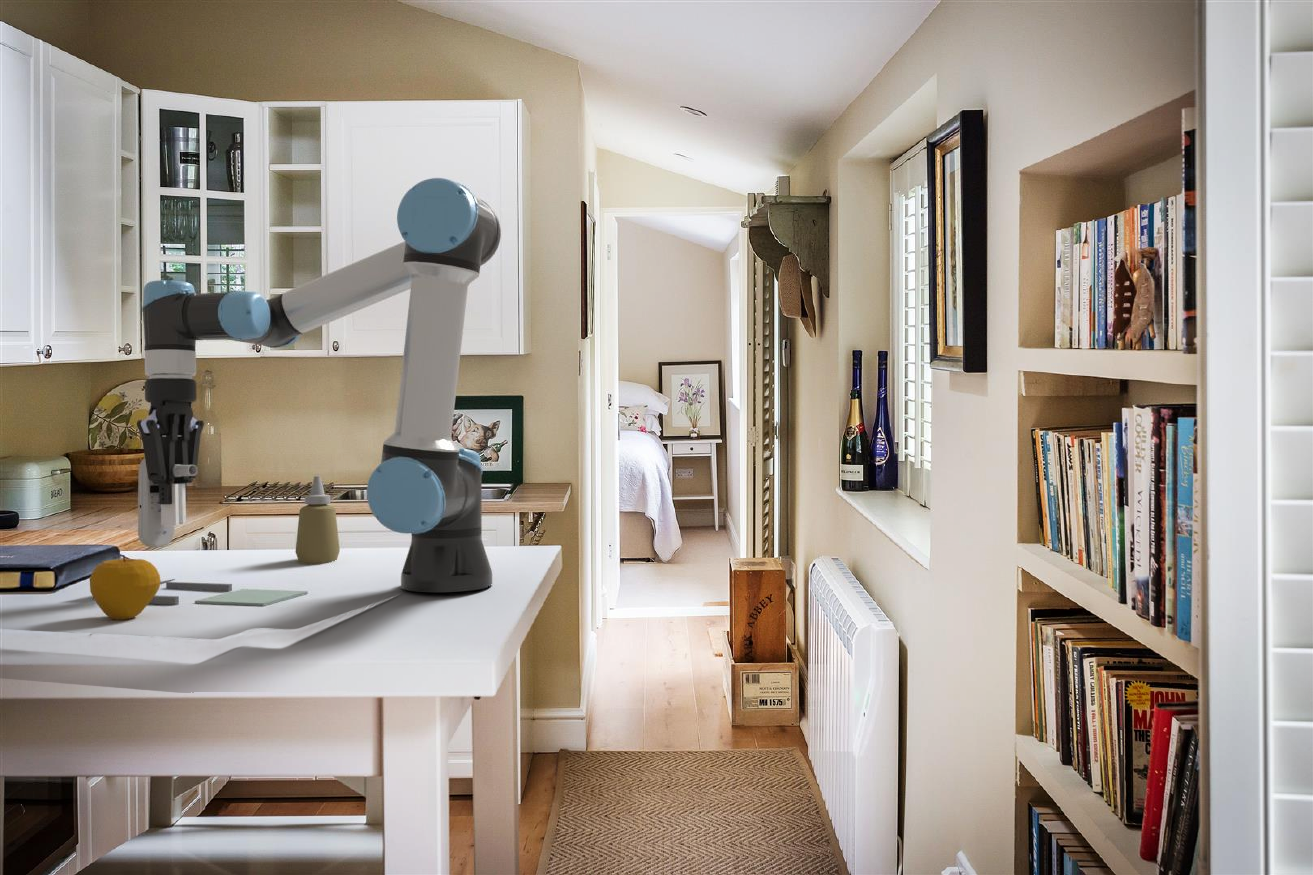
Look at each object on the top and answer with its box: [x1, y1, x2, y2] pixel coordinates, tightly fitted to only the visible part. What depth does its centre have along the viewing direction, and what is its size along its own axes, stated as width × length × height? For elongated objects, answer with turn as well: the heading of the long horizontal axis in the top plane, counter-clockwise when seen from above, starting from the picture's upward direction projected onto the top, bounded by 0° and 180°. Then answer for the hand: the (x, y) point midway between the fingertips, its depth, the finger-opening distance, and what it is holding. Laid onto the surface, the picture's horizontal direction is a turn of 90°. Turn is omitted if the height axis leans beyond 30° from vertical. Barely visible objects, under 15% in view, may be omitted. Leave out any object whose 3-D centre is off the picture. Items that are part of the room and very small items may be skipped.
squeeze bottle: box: [295, 475, 341, 565], centre depth 194 cm, size 8×8×18 cm
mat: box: [194, 588, 309, 607], centre depth 161 cm, size 12×12×1 cm
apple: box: [89, 555, 162, 621], centre depth 145 cm, size 9×9×9 cm
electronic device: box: [137, 457, 198, 548], centre depth 163 cm, size 5×10×15 cm, turn 64°
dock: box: [92, 578, 233, 606], centre depth 167 cm, size 17×19×4 cm
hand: (173, 524), depth 163 cm, fingers closed on electronic device
